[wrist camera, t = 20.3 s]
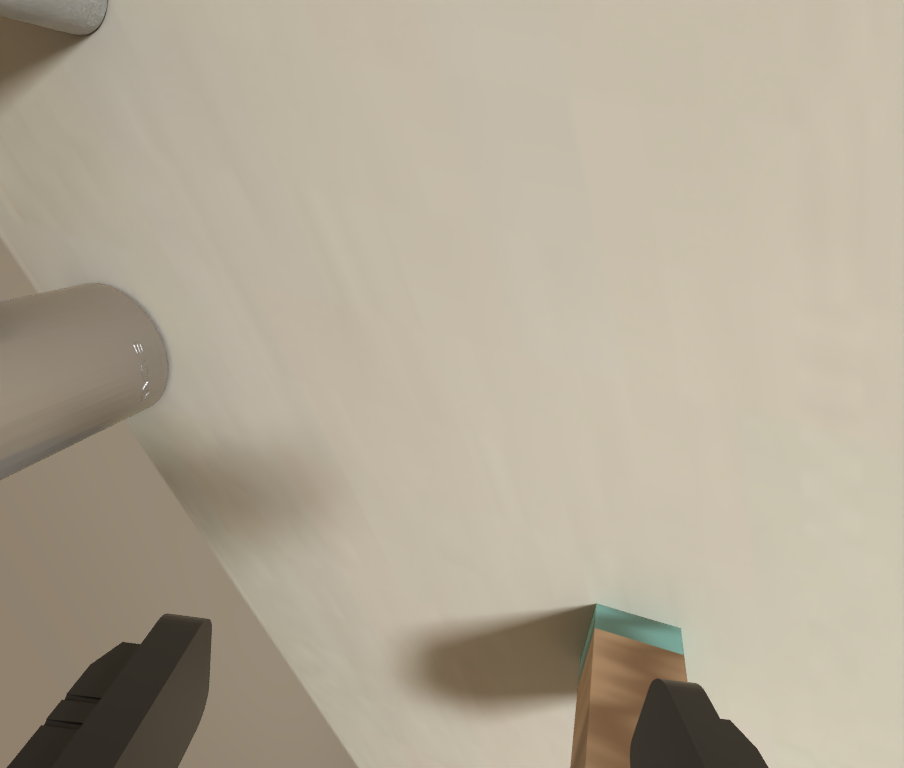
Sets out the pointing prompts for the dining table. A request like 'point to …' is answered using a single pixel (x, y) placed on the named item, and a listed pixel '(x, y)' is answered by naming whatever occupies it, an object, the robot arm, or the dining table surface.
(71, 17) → the planter
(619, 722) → the brown tall block
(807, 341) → the dining table surface
